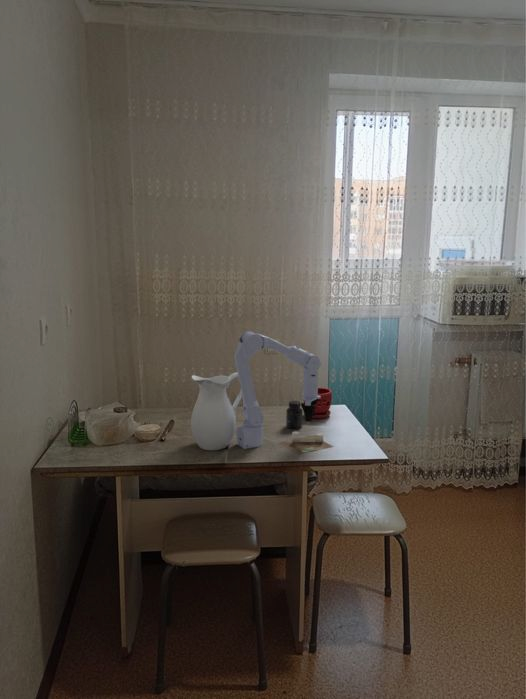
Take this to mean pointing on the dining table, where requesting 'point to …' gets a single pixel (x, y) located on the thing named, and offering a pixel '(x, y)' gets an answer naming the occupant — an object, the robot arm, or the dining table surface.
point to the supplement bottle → (294, 415)
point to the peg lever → (307, 438)
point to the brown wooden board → (305, 446)
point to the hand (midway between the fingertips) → (309, 418)
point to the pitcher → (214, 412)
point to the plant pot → (323, 403)
